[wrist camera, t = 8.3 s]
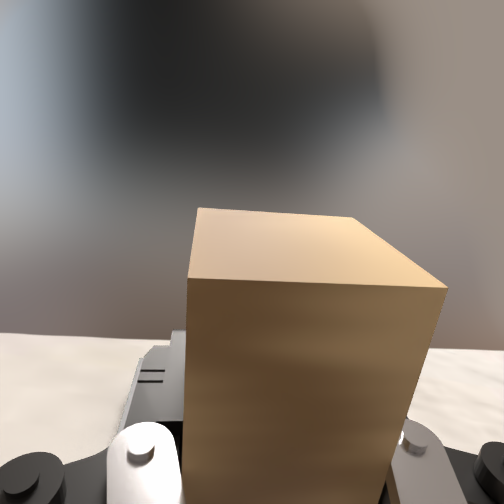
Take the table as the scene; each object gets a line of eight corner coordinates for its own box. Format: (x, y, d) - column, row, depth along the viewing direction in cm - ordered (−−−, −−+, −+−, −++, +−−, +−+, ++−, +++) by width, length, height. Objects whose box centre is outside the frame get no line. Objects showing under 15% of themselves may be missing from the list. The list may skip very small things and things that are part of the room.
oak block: (291, 519, 13) (352, 217, 9) (321, 674, 10) (448, 288, 5) (185, 525, 13) (198, 207, 9) (175, 690, 9) (187, 278, 5)
